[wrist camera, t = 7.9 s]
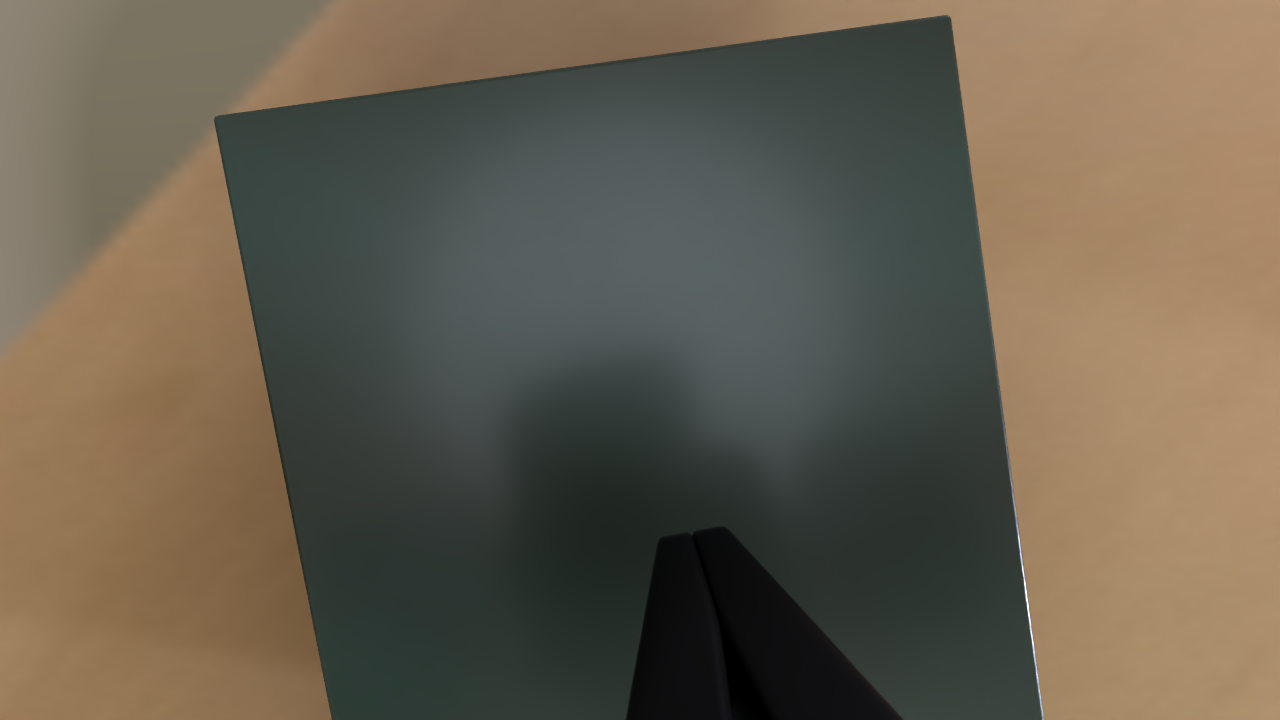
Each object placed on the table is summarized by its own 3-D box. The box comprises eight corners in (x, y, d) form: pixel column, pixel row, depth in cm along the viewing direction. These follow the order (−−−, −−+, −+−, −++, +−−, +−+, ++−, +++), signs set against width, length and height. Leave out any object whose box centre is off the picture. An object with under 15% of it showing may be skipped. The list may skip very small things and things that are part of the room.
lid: (235, 128, 12) (210, 114, 11) (929, 31, 13) (952, 12, 12) (388, 914, 13) (375, 954, 12) (1029, 775, 14) (1056, 803, 13)
